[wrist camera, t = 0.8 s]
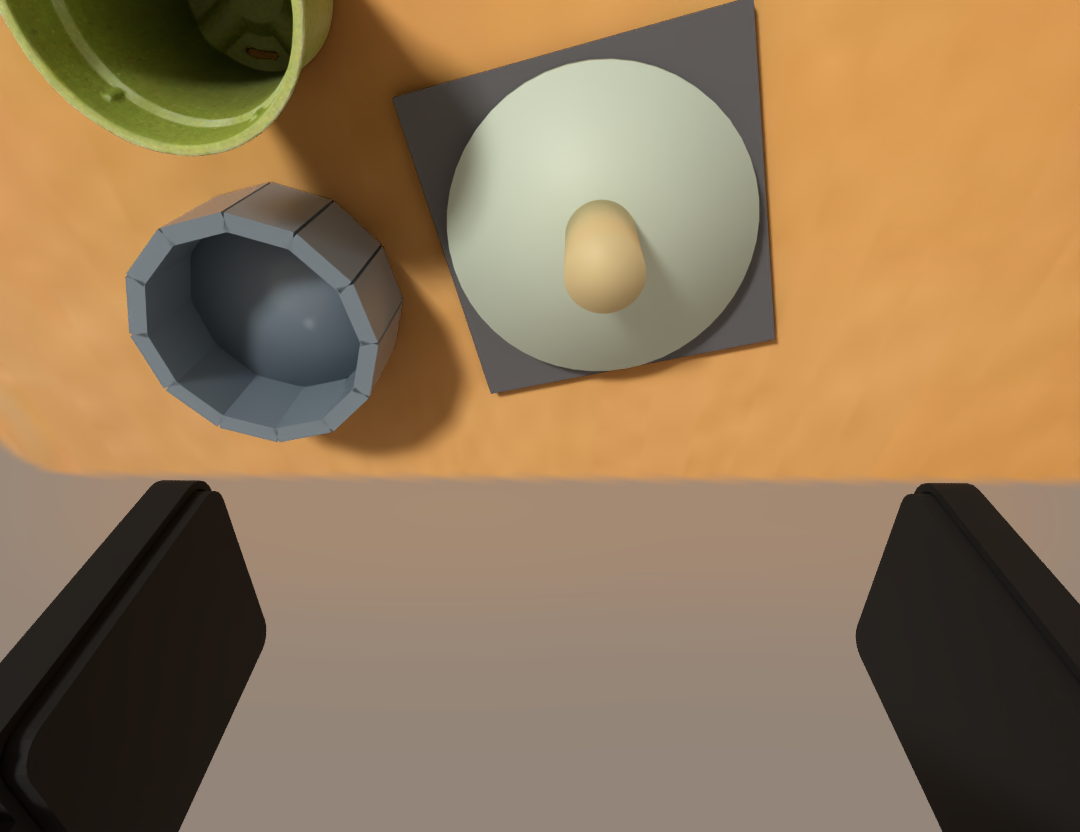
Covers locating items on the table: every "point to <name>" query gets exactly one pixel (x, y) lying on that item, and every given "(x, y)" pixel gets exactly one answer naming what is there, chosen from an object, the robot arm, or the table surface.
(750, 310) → the mat
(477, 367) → the table surface
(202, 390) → the bowl
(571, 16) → the table surface
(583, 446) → the table surface
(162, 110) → the plant pot
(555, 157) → the lid
